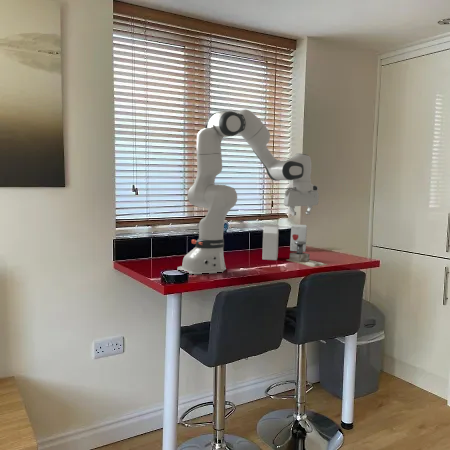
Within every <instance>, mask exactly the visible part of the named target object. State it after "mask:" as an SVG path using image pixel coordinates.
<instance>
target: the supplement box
mask: <svg viewBox="0 0 450 450" xmlns="http://www.w3.org/2000/svg"><path fill="white" fill-rule="evenodd" d="M307 228H308V226H307V224H295V223H294V224H293V223H292V224H291V228H290V229H291V230H290V245H289V246H290V247H289V248H290V249H289V250H290V252H297V244H294V242H295V241H305V242H306V244H304V245H303V253H306V248H307V236H308V235H307V232H308V231H307V230H308V229H307Z"/></svg>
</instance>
